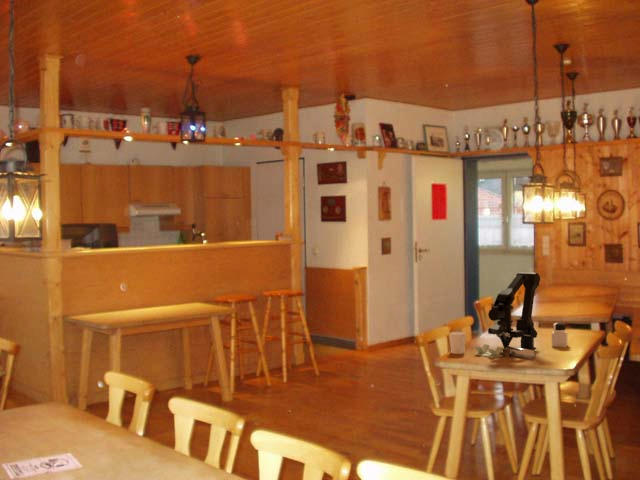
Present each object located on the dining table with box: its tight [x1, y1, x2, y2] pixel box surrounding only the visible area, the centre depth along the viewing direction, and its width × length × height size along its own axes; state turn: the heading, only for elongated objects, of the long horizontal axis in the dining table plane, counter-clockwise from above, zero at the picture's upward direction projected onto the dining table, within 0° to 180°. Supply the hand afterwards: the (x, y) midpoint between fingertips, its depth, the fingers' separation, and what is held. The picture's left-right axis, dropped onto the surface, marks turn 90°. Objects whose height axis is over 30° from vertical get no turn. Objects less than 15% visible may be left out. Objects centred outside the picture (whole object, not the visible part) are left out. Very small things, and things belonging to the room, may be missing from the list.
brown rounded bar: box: [506, 345, 536, 360], centre depth 373 cm, size 15×4×4 cm, turn 34°
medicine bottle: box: [551, 322, 568, 348], centre depth 398 cm, size 7×7×12 cm
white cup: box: [449, 331, 466, 355], centre depth 386 cm, size 8×8×10 cm
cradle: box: [474, 344, 504, 359], centre depth 378 cm, size 8×12×4 cm, turn 34°
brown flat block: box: [500, 346, 519, 357], centre depth 379 cm, size 8×8×4 cm
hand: (505, 349), depth 380 cm, fingers closed
